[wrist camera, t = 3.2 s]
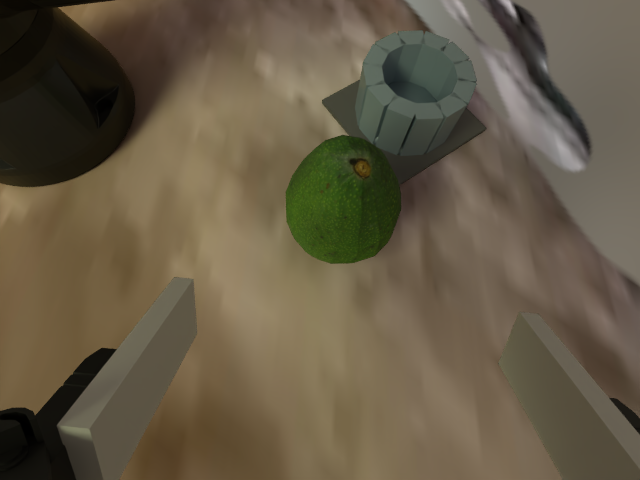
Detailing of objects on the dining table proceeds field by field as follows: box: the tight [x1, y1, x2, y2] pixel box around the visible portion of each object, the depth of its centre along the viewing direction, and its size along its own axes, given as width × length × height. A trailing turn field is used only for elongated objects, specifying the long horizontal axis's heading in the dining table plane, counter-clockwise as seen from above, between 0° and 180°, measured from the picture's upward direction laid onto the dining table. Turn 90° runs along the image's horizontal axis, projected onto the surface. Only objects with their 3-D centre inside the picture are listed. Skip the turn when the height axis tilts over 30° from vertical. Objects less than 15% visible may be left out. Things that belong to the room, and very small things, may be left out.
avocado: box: [286, 135, 401, 264], centre depth 24 cm, size 8×8×12 cm
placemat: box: [322, 80, 486, 185], centre depth 34 cm, size 11×11×1 cm
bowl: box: [355, 30, 477, 156], centre depth 31 cm, size 9×9×5 cm
